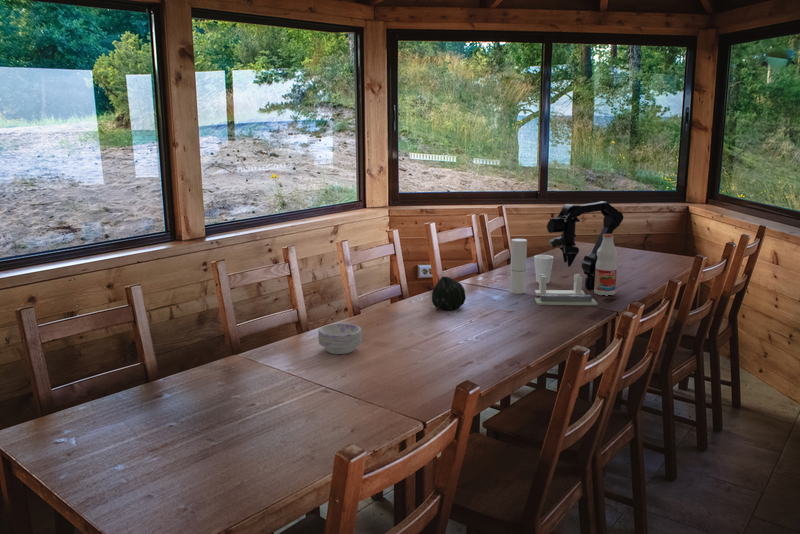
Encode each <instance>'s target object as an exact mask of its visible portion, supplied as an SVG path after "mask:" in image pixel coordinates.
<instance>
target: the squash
mask: <svg viewBox="0 0 800 534" xmlns="http://www.w3.org/2000/svg"><path fill="white" fill-rule="evenodd" d="M466 298H467V297H466V290H465V288H464V286H463V284H462V283H460V282H459V281H456V280H455V279H454V278H453V279H452V278H451V277H449V276H441V278H440V279H439V281H438V282H437V283H436V284H434V287H433V289H432V292H431V301H432V305H433V306H434V307H435V308H438V309H440V310H442V311H443V310H447V311H452V310H453V311H454V310H459V308H460V307H461V306H464V304H465V301H466Z"/></svg>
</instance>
